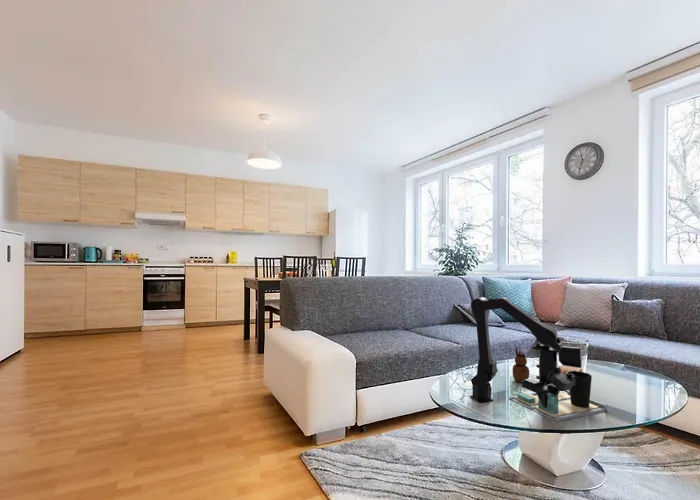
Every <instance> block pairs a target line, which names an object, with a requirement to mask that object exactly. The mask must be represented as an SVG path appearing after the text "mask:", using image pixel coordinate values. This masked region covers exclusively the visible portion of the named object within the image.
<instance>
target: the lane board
mask: <svg viewBox="0 0 700 500" xmlns="http://www.w3.org/2000/svg"><path fill="white" fill-rule="evenodd" d="M565 392H567V393H568V394H570V390H566V391H565ZM526 394H527V395H528V394H532V395H534V396H536V397H538V395H537V394H536V392H528V393H526ZM516 396H517V395H516V394H515V395H512V396H511V395H510V396H508V399H509V400H511V401H513V402H515V403H517V404H520V405H521V406H523V407H525V408H527V409H529V410H531V411H534V412H535V413H538V414H540V415H542V416H544V417H546V418H548V419H551V420H552V421H554V422H559V421H565V420H569V419H573V418H577V417H583V416H587V415H592V414H597V413H602V412H606V411H608V410H607V409H608V408H607V407H608V405H607V404H605V403H603V402H600V401H597V400H595V399H591V398H590V402H589V403H590V404H593V405H595V406H598V407H599V408H598V409H593V410H589V411H584V412H579V413H574V414H569V415H564V416H559V417H553V416H551V415H549V414H546V413H544V412H542V411H540V410H538V409H536V406H538V405H535V406H530V405H528V404H526V403H524V402H522V401H520V400H518V399H515V397H516ZM568 400H571V399H567V400H562V401H558V402H563V401H568Z"/></svg>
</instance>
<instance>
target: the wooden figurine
mask: <svg viewBox="0 0 700 500" xmlns="http://www.w3.org/2000/svg"><path fill="white" fill-rule="evenodd" d="M527 362H528V360H527V358H526V355H525V353H523V351H521V349H520V348H519V350H518V349H517V347H515V357H514V363H515V364H513V365H512V377H513V380H514V381H515V382H517V383H520V384H522V381H523V380H524V379H530V368H529V367H528V366H527V364H528V363H527Z"/></svg>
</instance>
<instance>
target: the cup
mask: <svg viewBox="0 0 700 500" xmlns="http://www.w3.org/2000/svg"><path fill="white" fill-rule="evenodd" d="M568 374H573V375H574V376H575V380H576V382H575V384H576V385H574V386H572V388H571V390H569V391H570V399H571V404H572V405H574V406H577V407H582V408H587V407H589V402H590V399H591V389H592V379H593V378H592V374H590V373H587V372H583V371H577V370H572V371H571V370H570V371H568V372H567V373H566V375H568Z"/></svg>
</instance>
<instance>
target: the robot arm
mask: <svg viewBox="0 0 700 500" xmlns="http://www.w3.org/2000/svg"><path fill="white" fill-rule="evenodd" d="M470 309H471V313H472V315H473V317H474V320H475V324H476V335H477V346H478V362H477V367H476V374H475V375H474V376H473V377H472V378H471V379H470V382H471V385H472V386H471V387H472V388H471V389H472V394H471V395H469V397H470V399H472V400H475V401H476V402H478V403H481V404H482V403H487V402H493V401H494V398H493V397H492V386H491V384H492V383H491V381H492V380H493V379H494V378H495V377H496V376H497V373H498V367H497V360H493V358H492V355H491V345H490V344H491V342H490V334H489V333H490V332H489V331H490V330H489V322H488V321H489V316H490V310H498V309H500V310H502V311H504V312H505V313H506V314H508V315H509V316H510V317H511V318H513V319H514V320H515V321H517V322H519V323H520V324H521V325H522V326H524V327H525V328H527V330H529V332H530V333H531V334H532V335H533V337H535V338H536V340H537V342H536V344H534V345H533V347H532V350H536V351H537V350H538V363H536V366H535V367H536V368H538V375H536V376H535V378H536V379H537V380H536V379H534V378H528V379H524V380H523V381H522V383H521V386H522V388H523V389H526V390H528V391H531V392H532V393H534V392H536V394H537V395H538V397H539V399H540V402H541V404H542V406H543V407H544V408H546V407H547V394H548V393H549V392H550V393H552V394H554V395H557V396H558V394H559V392H560V391H566V390H569V391H570V390H571V388H572V386H574V385H576V384H575V382H576V380H575V376H574V375H573V374H567V373H566V374H564V373H562V371H561V370H562V369H561V367H560V366H558V362H559V363H560V364H562V366H563V367H570V368H571V367H572V368H578V369H582V363H583V362H582V361H583V360H582V359H583V355H582V347H579V346H568V345H567V346H566V345H564V343H563V342H562V341H561V339H560V338H559V337H558V332H557V330H556V329H555V328H553V327H552V326H550V325H548V324H546V323H544V322H541V321H539V320H537V319H535V318H534V317H532V316H531V315H529V314H528V313H527V312H526V311H524V310H523V309H522V308H520V307H519V306H517V305H516V304H514V303H513V302H511V301H510V300H509V298H507V297H504V296H503V297H502V296H501V297H499V298H498V297H497V298H496V297H495V298H486V297H484V296H481V297H477V298H475V299H473V300H472V301H470Z"/></svg>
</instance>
